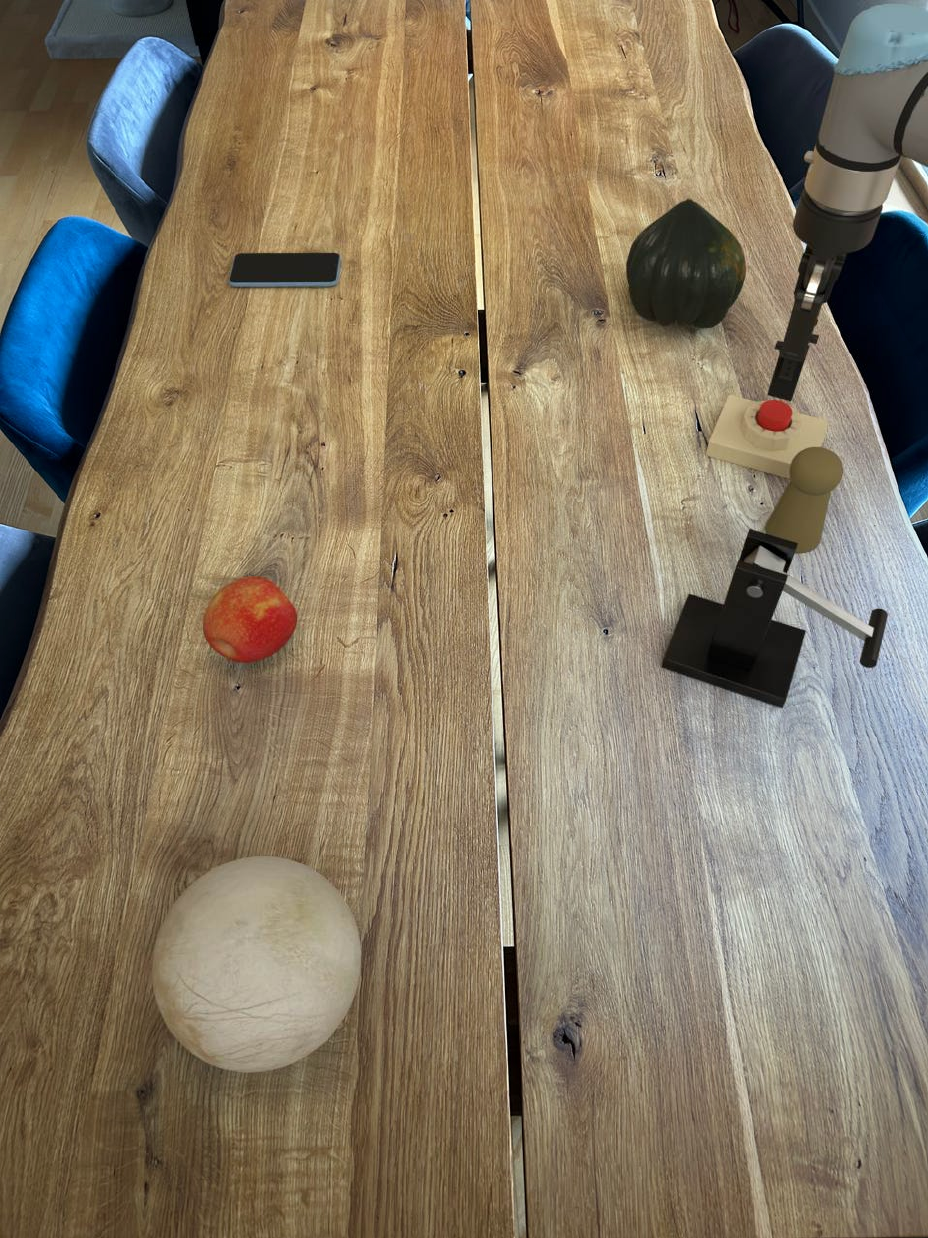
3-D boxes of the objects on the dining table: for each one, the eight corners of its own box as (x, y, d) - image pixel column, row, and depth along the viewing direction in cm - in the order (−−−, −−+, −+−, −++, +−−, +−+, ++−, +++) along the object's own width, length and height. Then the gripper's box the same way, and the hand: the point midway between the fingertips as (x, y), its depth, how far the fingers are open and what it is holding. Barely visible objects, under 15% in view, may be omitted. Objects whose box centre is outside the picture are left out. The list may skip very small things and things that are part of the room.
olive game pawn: (822, 517, 112) (851, 442, 103) (821, 557, 108) (851, 483, 99) (766, 508, 113) (791, 433, 104) (763, 547, 109) (789, 473, 100)
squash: (709, 333, 123) (754, 207, 119) (596, 301, 128) (637, 179, 124) (727, 350, 136) (769, 237, 132) (625, 320, 141) (662, 210, 137)
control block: (824, 435, 120) (834, 408, 117) (808, 484, 115) (818, 458, 112) (725, 408, 123) (731, 381, 120) (705, 455, 118) (711, 429, 115)
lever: (877, 623, 94) (895, 611, 92) (865, 672, 90) (884, 661, 88) (749, 543, 93) (765, 530, 91) (733, 590, 89) (749, 577, 87)
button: (791, 416, 116) (795, 404, 115) (784, 435, 114) (788, 423, 113) (760, 407, 117) (764, 396, 116) (753, 427, 115) (756, 415, 114)
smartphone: (234, 251, 142) (341, 251, 142) (235, 257, 142) (341, 256, 142) (226, 282, 137) (337, 281, 137) (227, 288, 138) (337, 287, 138)
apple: (313, 643, 101) (303, 593, 95) (246, 693, 98) (231, 645, 91) (263, 600, 105) (250, 548, 98) (197, 646, 101) (179, 596, 95)
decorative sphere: (405, 1015, 79) (394, 948, 67) (233, 1138, 74) (188, 1089, 62) (309, 868, 87) (283, 784, 75) (147, 970, 82) (92, 897, 70)
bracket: (802, 639, 102) (846, 540, 90) (782, 708, 97) (825, 613, 85) (686, 602, 104) (713, 501, 93) (660, 667, 99) (686, 570, 88)
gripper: (817, 153, 99) (761, 351, 117) (787, 222, 91) (732, 421, 110) (895, 169, 97) (826, 368, 116) (871, 240, 90) (801, 440, 108)
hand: (780, 394), depth 113 cm, fingers closed
